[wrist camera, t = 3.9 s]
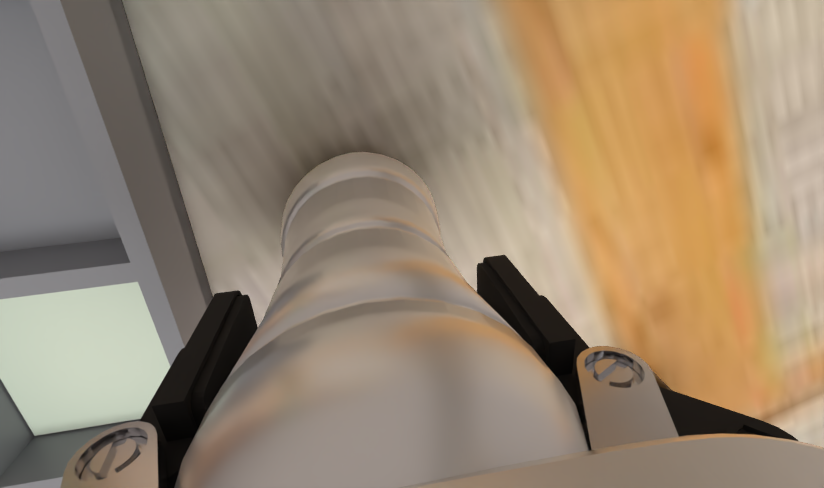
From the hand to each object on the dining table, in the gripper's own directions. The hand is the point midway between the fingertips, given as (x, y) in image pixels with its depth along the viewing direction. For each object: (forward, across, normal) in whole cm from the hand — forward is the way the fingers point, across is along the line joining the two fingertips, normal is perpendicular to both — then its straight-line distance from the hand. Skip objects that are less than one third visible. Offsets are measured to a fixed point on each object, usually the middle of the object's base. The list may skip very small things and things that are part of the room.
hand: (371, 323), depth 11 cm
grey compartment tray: (+10, +13, 0) cm, 16 cm away
